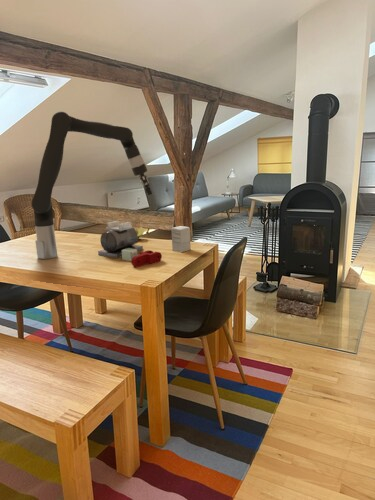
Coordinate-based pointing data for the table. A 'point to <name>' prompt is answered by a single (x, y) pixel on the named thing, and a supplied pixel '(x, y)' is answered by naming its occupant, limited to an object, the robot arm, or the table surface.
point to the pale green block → (128, 254)
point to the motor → (118, 239)
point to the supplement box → (181, 238)
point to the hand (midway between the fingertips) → (149, 193)
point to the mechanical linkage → (146, 258)
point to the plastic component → (139, 232)
